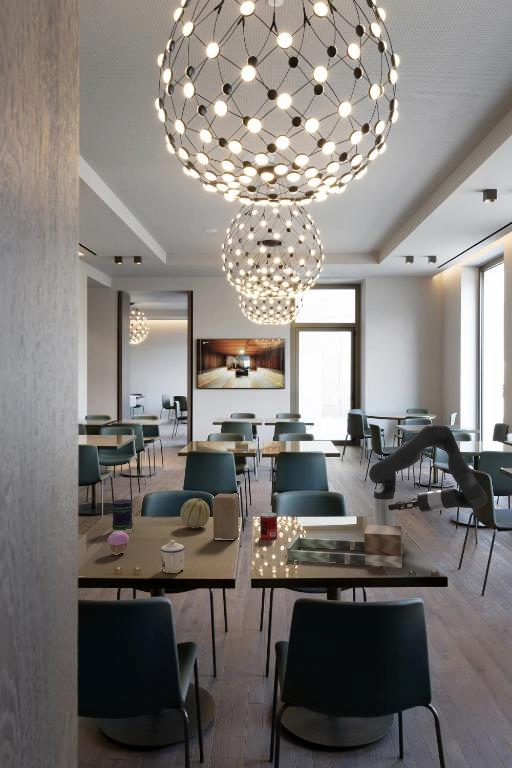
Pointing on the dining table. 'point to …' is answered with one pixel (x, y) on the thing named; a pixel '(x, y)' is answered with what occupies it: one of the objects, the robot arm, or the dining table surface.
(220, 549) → the dining table surface
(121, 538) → the cupcake
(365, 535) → the walnut block
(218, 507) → the block
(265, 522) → the canned food
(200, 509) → the cantaloupe
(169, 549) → the teacup with lid
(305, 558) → the tray
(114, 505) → the navy striped cylinder
